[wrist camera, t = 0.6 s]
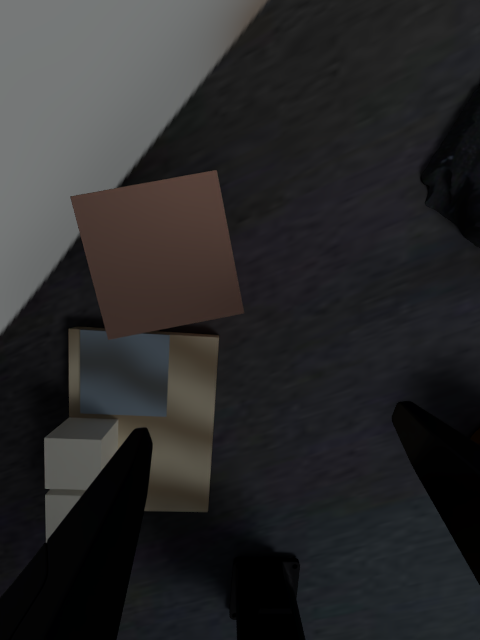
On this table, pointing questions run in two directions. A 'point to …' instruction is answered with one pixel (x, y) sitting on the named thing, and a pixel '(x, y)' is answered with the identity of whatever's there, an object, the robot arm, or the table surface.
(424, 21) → the table surface
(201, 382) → the board
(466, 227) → the dark slate chunk
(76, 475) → the built blocks
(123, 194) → the tower block
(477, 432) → the mug
